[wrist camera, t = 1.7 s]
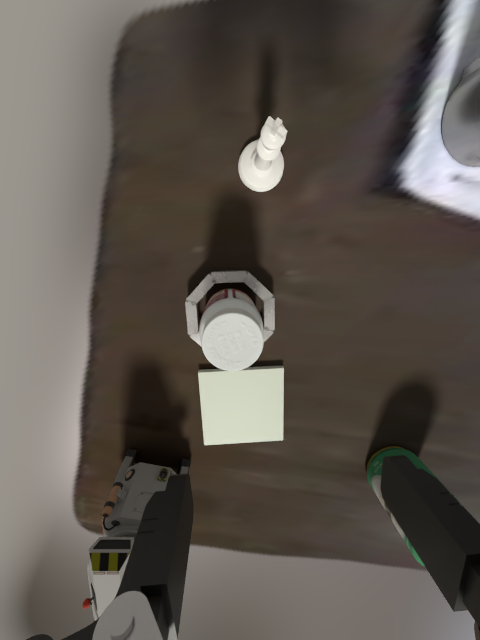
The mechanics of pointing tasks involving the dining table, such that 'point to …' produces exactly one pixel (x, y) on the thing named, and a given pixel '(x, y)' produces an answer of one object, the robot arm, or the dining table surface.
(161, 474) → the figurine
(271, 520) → the dining table surface
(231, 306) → the pill bottle
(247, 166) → the chess piece
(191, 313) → the steel collar
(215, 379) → the sage pad
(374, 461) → the beverage can
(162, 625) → the robot arm
